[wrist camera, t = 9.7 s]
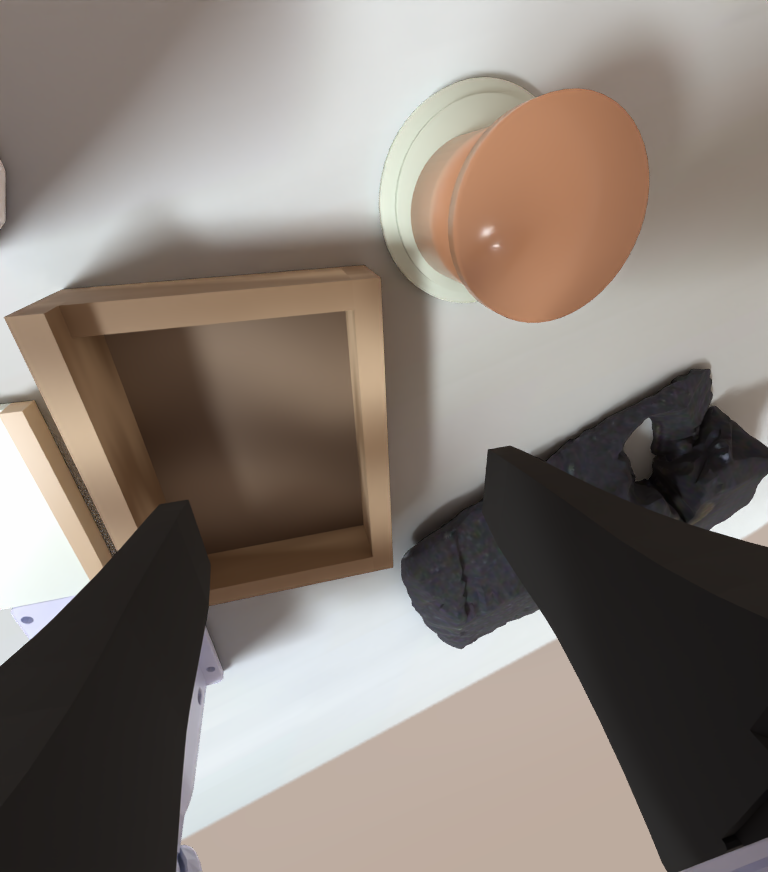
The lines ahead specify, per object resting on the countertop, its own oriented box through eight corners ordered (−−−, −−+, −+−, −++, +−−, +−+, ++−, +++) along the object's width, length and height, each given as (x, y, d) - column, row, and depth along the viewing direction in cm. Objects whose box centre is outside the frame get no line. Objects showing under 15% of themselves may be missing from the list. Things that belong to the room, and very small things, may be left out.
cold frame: (380, 528, 24) (398, 582, 21) (174, 567, 22) (157, 634, 19) (364, 265, 17) (387, 283, 14) (61, 289, 15) (4, 317, 12)
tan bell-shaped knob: (538, 274, 18) (631, 302, 13) (411, 300, 17) (463, 339, 13) (545, 109, 15) (668, 74, 11) (393, 132, 15) (453, 105, 10)
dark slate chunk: (363, 514, 24) (383, 578, 20) (716, 346, 24) (806, 376, 20) (443, 649, 32) (468, 714, 28) (706, 523, 32) (769, 571, 28)
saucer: (544, 292, 20) (557, 297, 19) (383, 308, 18) (388, 314, 17) (574, 79, 16) (592, 73, 15) (373, 80, 15) (380, 73, 14)
